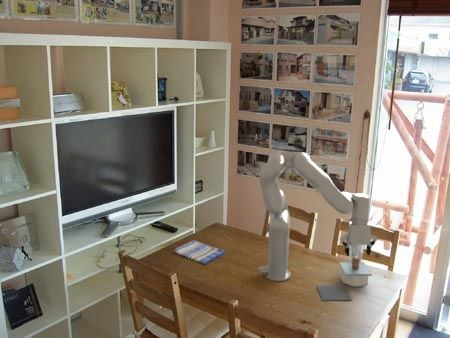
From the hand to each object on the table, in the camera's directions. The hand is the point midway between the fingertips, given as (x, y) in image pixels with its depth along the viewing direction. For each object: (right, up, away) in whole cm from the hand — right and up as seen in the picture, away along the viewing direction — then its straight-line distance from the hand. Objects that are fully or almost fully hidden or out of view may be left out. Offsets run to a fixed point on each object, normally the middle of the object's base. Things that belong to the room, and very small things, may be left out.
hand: (357, 254), depth 219 cm
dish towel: (-76, -6, +33) cm, 83 cm away
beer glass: (+3, -10, +16) cm, 20 cm away
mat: (-13, -16, -7) cm, 22 cm away
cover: (-1, -8, +2) cm, 8 cm away
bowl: (-1, -13, +4) cm, 14 cm away
